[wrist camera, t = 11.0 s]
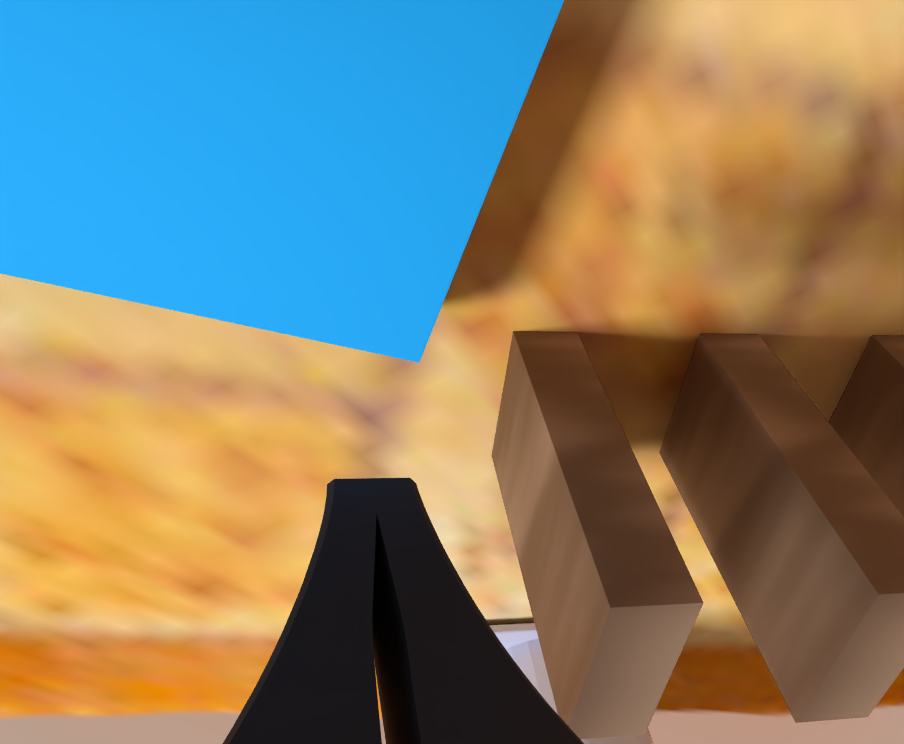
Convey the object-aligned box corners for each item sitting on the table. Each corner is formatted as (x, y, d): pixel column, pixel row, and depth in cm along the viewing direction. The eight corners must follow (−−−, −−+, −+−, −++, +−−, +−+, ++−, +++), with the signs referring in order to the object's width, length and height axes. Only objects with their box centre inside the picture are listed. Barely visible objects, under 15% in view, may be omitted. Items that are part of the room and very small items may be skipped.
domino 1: (577, 332, 24) (703, 603, 16) (548, 454, 27) (644, 734, 19) (513, 331, 24) (610, 607, 16) (491, 455, 27) (564, 740, 19)
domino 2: (758, 334, 25) (961, 590, 17) (712, 451, 28) (867, 716, 20) (700, 333, 25) (879, 594, 17) (659, 452, 28) (796, 722, 20)
